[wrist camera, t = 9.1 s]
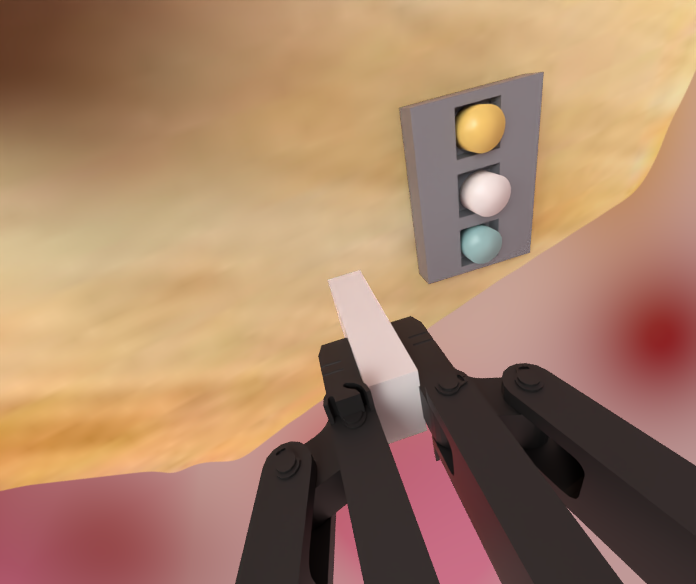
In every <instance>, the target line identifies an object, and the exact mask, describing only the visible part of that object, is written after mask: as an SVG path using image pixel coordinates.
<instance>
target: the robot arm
mask: <svg viewBox="0 0 696 584" xmlns="http://www.w3.org/2000/svg"><path fill="white" fill-rule="evenodd" d="M328 283H329V286H330V290H331V293H332V297H333V300H334V303H335V307H336V310H337V314H338V317H339V320H340V324H341V327H342V330H343V333H344V336H345V338H344V339H340V340H337V341H334V342H331V343H328V344H325V345H322V346H321V349H320V352H319V356H318V357H319V362H320V366H321V371H322V375H323V380H324V385H325V390H326V395H325V397H324V404H323V406H324V409H325V411H326V414H327V417H328V419H329V420H328V422H327V424H326V426H325V427H324V428H323V430H322V431H321V432H320V433H319V434H318V435H316V436H315V437H314V438H313V439H311V440H310V441H308V442H307V443H305V444H302V443H300V442H288V443H285V444H282V445H280V446H279V447H277V448H276V449H274V450H273V451H272V453H271V454H270V455H269V456H268V457H267V459H266V461H265V464H264V466H263V469H262V473H261V477H260V482H259V486H258V490H257V494H256V498H255V503H254V507H253V511H252V515H251V520H250V524H249V528H248V532H247V536H246V541H245V545H244V550H243V553H242V558H241V562H240V566H239V570H238V574H237V578H236V583H235V584H333V571H334V547H335V523H336V512H337V511H338V510H340V509H341V508H342V507H343V506H345V505H346V504H348V509H349V514H350V518H351V523H352V528H353V533H354V538H355V542H356V547H357V551H358V557H359V561H360V566H361V571H362V575H363V580H364V584H440V583H439V580H438V578H437V575H436V572H435V570H434V567H433V564H432V561H431V559H430V556H429V553H428V551H427V548H426V545H425V542H424V540H423V537H422V534H421V532H420V529H419V526H418V524H417V521H416V518H415V515H414V513H413V510H412V507H411V504H410V502H409V499H408V496H407V493H406V491H405V488H404V485H403V483H402V480H401V477H400V474H399V472H398V469H397V467H396V463H395V461H394V458H393V455H392V453H391V450H390V447H389V444H390V443H393V442H395V441H398V440H401V439H404V438H407V437H410V436H413V435H416V434H419V433H421V432H424V431H427V428H426V424H427V425H428V428H429V429H430V431H431V433H432V439H433V445H434V453H435V458H436V461H438V460H440V459H441V461H442V463H443V465H444V467H445V469H446V471H447V473H448V475H449V477H450V479H451V482H452V484H453V486H454V488H455V489H456V492H457V494H458V496H459V498H460V500H461V502H462V504H463V506H464V508H465V510H466V512H467V514H468V516H469V518H470V520H471V522H472V524H473V526H474V528H475V530H476V532H477V534H478V536H479V538H480V540H481V542H482V544H483V547H484V549H485V550H486V553H487V555H488V557H489V559H490V561H491V563H492V565H493V567H494V569H495V571H496V573H497V575H498V577H499V579H500V581H501V583H502V584H623V582H622V581H621V580H620V578H619V577H618V576H617V574H616V573H615V572H614V570H613V569H612V568H611V566H610V565H609V564H608V562H607V561H606V560H605V558H604V557H603V556H602V554H601V553H600V552H599V550H598V549H597V548H596V546H595V545H594V544H593V542H592V541H591V539H590V538H589V537H588V535H587V534H586V533H585V531H584V530H583V529H582V527H581V526H580V525H579V523H578V522H577V521H576V519H575V518H574V517H573V515H572V514H571V513H570V511H571V512H572V513H573V514H575V515H576V516H577V517H578V518H579V519H580V520H581V521H582V522H583V523H584V524H585V525H586V526H587V527H588V528H589V529H590V530H591V531H592V532H593V533H594V534H595V535H596V536H598V537H599V538H600V539H601V540H602V541H603V542H604V543H605V544H606V545H607V546H608V547H609V548H610V549H611V550H612V551H613V552H614V553H615V554H617V556H619V557H620V558H621V559H622V560H623V561H624V562H625V563H626V564H627V565H628V566H629V567H630V568H631V569H632V570H633V571H634V572H635V573H636V574H637V575H639V577H640V578H641V579H643V580H644V581H645V582H646V583H647V584H696V466H695V465H694V464H692V463H691V462H689V461H687V460H686V459H684V458H683V457H681V456H680V455H678V454H676V453H675V452H673V451H672V450H670V449H669V448H667V447H666V446H664V445H662V444H661V443H659V442H658V441H656V440H654V439H653V438H651V437H650V436H648V435H647V434H645V433H644V432H642V431H641V430H639V429H638V428H636V427H634V426H633V425H631V424H629V423H628V422H627V421H625V420H623V419H622V418H620V417H619V416H617V415H616V414H614V413H613V412H611V411H610V410H608V409H606V408H605V407H603V406H602V405H600V404H599V403H597V402H595V401H594V400H592V399H591V398H589V397H588V396H586V395H585V394H583V393H581V392H580V391H578V390H577V389H575V388H574V387H572V386H571V385H569V384H567V383H566V382H564V381H563V380H561V379H559V378H558V377H557V376H555V375H553V374H552V373H550V372H549V371H547V370H545V369H543V368H541V367H539V366H537V365H533V364H527V363H524V364H515V365H512V366H510V367H508V368H507V369H506V370H505V371H504V372H503V376H502V377H501V378H473V377H469V376H467V375H466V374H465V373H464V372H462V371H459V370H457V369H455V368H454V367H453V366H452V364H451V363H450V362H449V360H448V359H447V357H446V356H445V354H444V353H443V352H442V350H441V349H440V348H439V346H438V345H437V343H436V342H435V341H434V340H433V338H432V336H431V335H430V334H429V333H428V331H427V329H426V328H425V327H424V325H423V324H422V322H420V321H418V320H417V319H415V318H413V317H411V316H410V317H407V318H403V319H400V320H397V321H394V322H391V323H390V321H389V320H388V318H387V316H386V314H385V313H384V311H383V309H382V307H381V306H380V304H379V302H378V300H377V299H376V297H375V295H374V294H373V292H372V290H371V288H370V287H369V285H368V283H367V281H366V280H365V278H364V276H363V274H362V273H361V271H360V270H358V271H354V272H351V273H348V274H345V275H341V276H338V277H335V278H331V279H328ZM439 457H440V458H439ZM567 508H568V509H569V510H570V511H569V510H568V509H567Z"/></svg>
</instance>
